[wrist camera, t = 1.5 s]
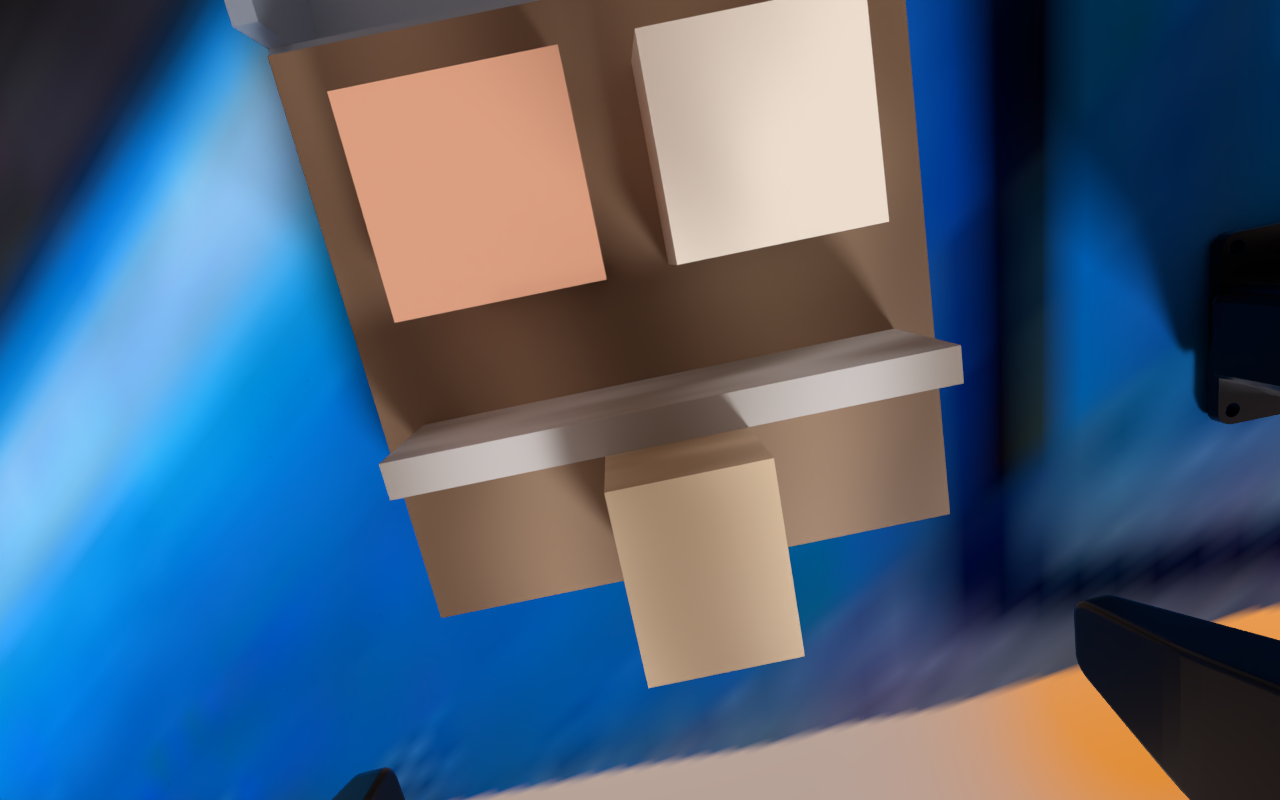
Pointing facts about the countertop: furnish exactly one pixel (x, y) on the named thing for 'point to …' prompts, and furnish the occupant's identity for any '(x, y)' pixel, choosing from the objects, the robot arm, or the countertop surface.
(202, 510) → the countertop surface
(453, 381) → the brown square tray
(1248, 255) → the robot arm
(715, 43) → the tile cream
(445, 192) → the tile terracotta
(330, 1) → the box
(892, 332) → the scraper
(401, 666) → the countertop surface
